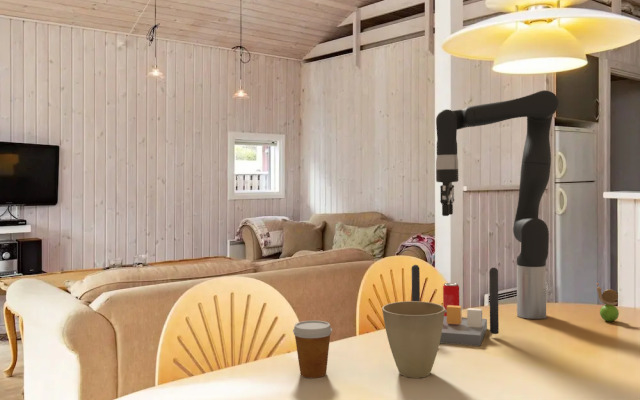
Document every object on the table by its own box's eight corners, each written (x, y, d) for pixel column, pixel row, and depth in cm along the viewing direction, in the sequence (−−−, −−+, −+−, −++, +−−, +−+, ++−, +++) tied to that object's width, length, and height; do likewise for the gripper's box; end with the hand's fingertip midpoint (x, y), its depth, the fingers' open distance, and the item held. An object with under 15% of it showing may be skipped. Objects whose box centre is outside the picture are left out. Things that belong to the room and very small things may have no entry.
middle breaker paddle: (461, 322, 174) (461, 306, 174) (460, 324, 172) (460, 307, 171) (448, 321, 175) (447, 305, 175) (446, 323, 173) (446, 306, 173)
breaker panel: (487, 328, 180) (486, 302, 179) (480, 346, 161) (479, 317, 161) (432, 324, 186) (431, 299, 186) (419, 341, 167) (419, 313, 167)
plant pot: (380, 363, 147) (379, 301, 147) (439, 363, 147) (438, 300, 146) (385, 384, 132) (384, 315, 132) (451, 383, 132) (450, 314, 131)
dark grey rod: (420, 326, 178) (420, 264, 178) (419, 328, 176) (418, 265, 176) (413, 325, 179) (412, 264, 179) (411, 327, 177) (410, 265, 176)
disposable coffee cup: (319, 383, 134) (318, 331, 134) (285, 376, 139) (284, 326, 139) (340, 371, 142) (339, 322, 142) (307, 365, 147) (306, 318, 147)
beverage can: (440, 319, 192) (439, 283, 192) (452, 317, 194) (452, 282, 194) (450, 323, 188) (449, 286, 187) (462, 321, 190) (462, 284, 189)
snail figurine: (598, 318, 190) (598, 281, 190) (620, 320, 187) (620, 283, 186) (595, 321, 186) (594, 284, 186) (617, 324, 182) (617, 286, 182)
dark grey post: (498, 332, 170) (498, 267, 169) (498, 334, 168) (497, 268, 167) (490, 331, 171) (489, 266, 170) (489, 333, 169) (489, 268, 168)
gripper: (455, 167, 192) (455, 216, 193) (461, 168, 205) (461, 214, 206) (432, 168, 195) (433, 216, 195) (439, 168, 208) (440, 213, 209)
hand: (447, 215), depth 201 cm, fingers open, 8 cm apart
